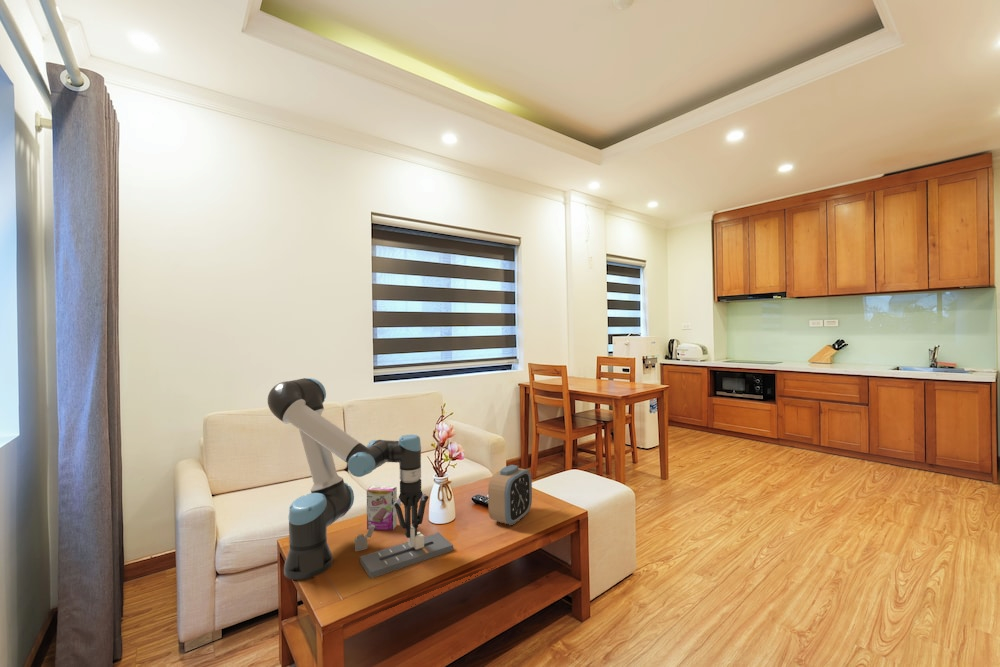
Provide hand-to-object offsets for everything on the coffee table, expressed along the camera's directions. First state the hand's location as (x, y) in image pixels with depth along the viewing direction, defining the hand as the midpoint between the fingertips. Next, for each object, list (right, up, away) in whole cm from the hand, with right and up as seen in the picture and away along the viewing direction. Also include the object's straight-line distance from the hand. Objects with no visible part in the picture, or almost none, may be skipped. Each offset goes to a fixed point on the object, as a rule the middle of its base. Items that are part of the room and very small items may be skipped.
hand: (411, 545), depth 150 cm
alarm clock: (+36, -3, +27) cm, 46 cm away
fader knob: (+2, -3, +1) cm, 4 cm away
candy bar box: (-16, -4, +21) cm, 27 cm away
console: (-1, -3, -1) cm, 4 cm away
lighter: (-18, -4, +5) cm, 19 cm away
